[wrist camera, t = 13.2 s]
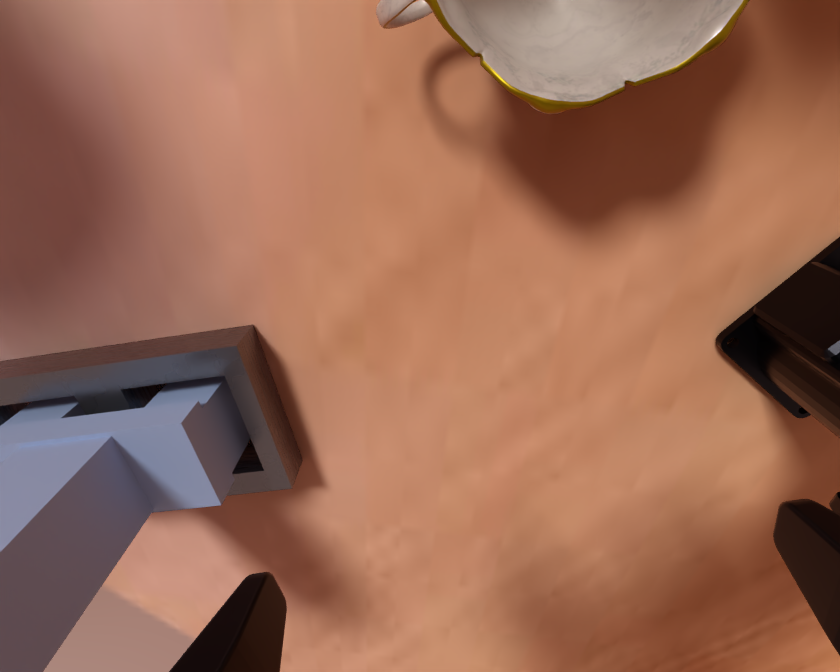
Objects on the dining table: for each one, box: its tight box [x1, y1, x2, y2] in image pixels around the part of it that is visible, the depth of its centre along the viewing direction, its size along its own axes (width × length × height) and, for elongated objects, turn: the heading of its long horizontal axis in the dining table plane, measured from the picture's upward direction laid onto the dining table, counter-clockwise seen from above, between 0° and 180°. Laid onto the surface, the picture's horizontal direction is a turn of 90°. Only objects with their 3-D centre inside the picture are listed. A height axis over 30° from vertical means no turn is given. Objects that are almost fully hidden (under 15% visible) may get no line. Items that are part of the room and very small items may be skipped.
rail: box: [0, 325, 302, 496], centre depth 22 cm, size 14×8×2 cm, turn 99°
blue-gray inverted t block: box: [0, 376, 250, 672], centre depth 17 cm, size 10×4×14 cm, turn 99°
